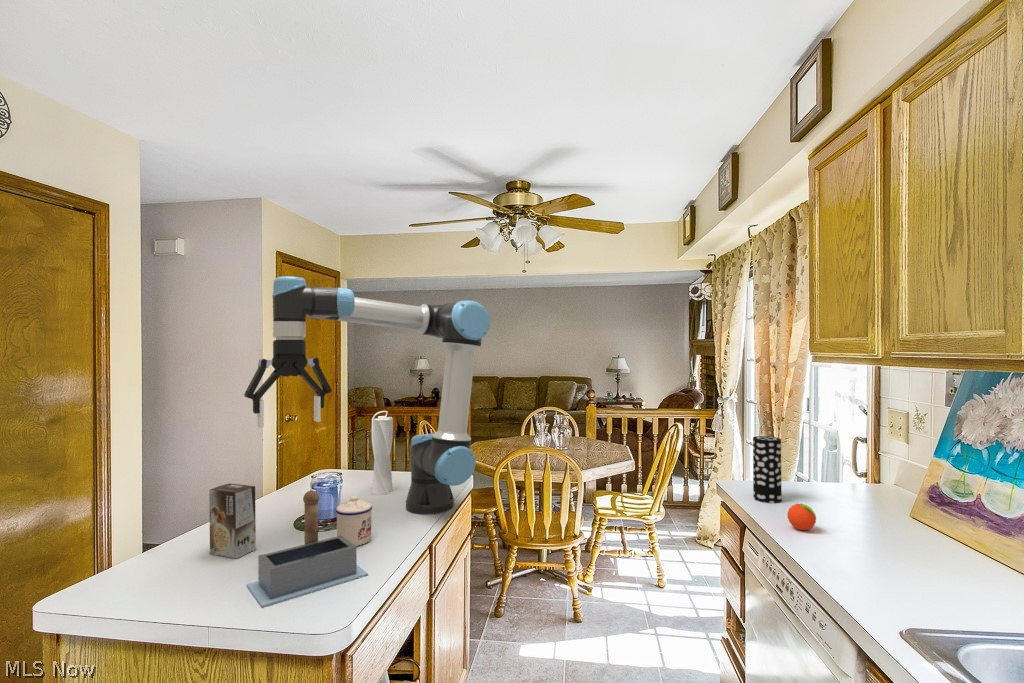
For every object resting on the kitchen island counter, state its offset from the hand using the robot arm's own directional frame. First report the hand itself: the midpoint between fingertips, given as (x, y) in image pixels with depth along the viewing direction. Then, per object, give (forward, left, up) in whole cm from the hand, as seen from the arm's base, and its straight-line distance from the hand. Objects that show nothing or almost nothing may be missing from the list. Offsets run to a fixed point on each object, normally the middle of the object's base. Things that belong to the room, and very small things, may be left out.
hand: (289, 424), depth 130 cm
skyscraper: (-41, -33, -32) cm, 62 cm away
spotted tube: (-133, +58, -32) cm, 149 cm away
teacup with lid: (-16, +3, -32) cm, 36 cm away
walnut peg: (-2, +8, -32) cm, 33 cm away
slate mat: (+2, +19, -32) cm, 37 cm away
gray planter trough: (+2, +19, -31) cm, 37 cm away
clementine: (-112, +77, -32) cm, 140 cm away
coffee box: (+11, -9, -32) cm, 35 cm away
